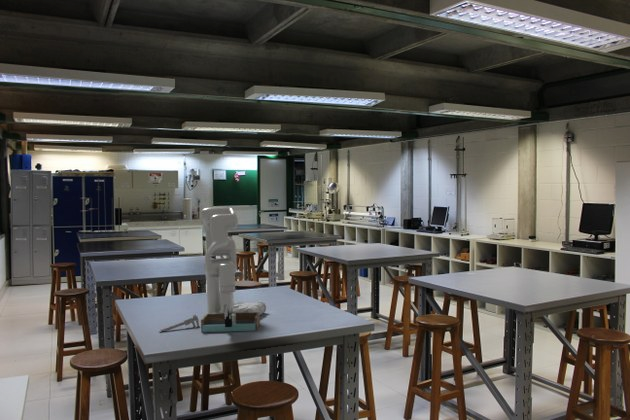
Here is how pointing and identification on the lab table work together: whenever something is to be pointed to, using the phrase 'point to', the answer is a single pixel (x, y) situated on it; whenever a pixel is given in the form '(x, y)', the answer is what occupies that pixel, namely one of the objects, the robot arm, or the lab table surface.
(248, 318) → the dock
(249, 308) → the white folded cloth
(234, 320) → the white speckled block
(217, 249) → the robot arm
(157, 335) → the lab table surface
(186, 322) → the caliper
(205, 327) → the tray
